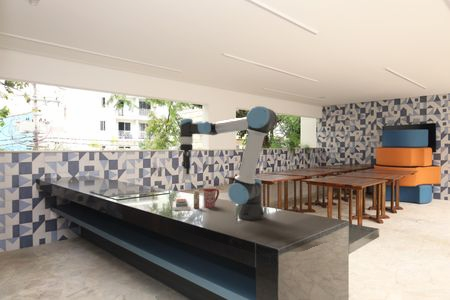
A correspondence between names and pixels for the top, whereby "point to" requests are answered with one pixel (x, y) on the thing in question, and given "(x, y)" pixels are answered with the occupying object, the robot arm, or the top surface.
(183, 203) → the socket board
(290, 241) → the top surface
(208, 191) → the mug
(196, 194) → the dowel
